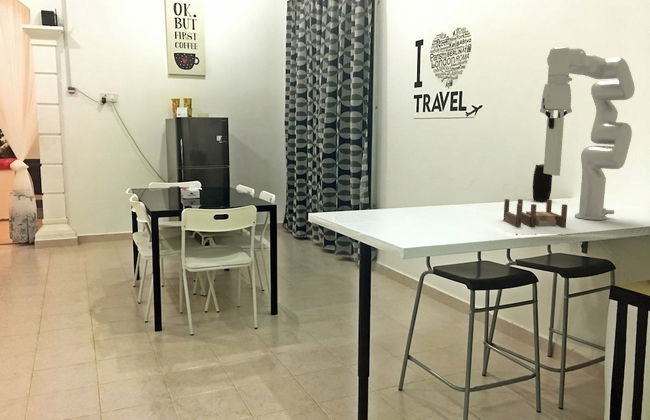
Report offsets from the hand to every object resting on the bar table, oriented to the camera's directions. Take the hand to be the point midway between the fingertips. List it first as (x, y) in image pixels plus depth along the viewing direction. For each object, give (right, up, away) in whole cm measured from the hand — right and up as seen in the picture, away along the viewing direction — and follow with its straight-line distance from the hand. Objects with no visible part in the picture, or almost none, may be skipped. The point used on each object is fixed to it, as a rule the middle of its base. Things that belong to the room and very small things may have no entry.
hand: (554, 128), depth 219 cm
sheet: (0, -18, +3) cm, 18 cm away
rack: (-6, -39, +6) cm, 40 cm away
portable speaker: (+26, -28, +80) cm, 89 cm away
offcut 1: (-4, -35, +6) cm, 36 cm away
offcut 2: (-3, -37, +6) cm, 38 cm away
